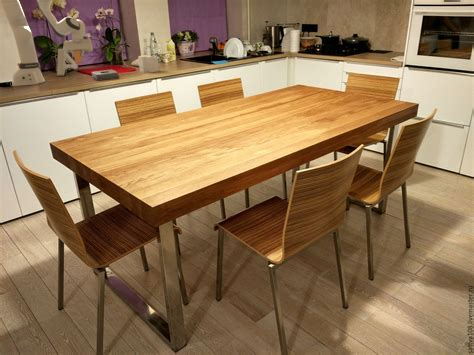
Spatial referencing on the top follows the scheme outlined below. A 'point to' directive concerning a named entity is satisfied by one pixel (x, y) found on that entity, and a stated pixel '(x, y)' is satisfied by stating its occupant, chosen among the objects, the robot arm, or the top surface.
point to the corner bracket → (148, 64)
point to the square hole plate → (105, 74)
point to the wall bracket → (61, 62)
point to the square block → (77, 57)
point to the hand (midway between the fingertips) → (77, 56)
